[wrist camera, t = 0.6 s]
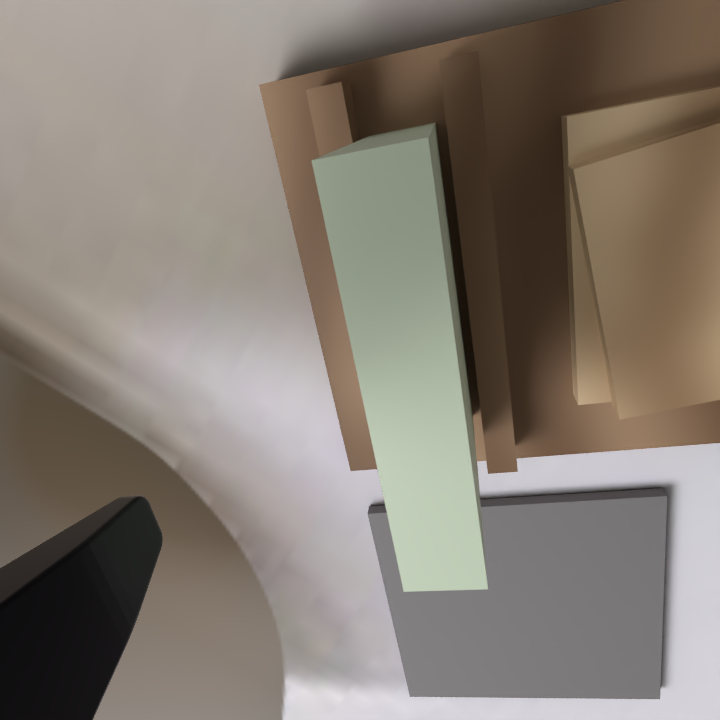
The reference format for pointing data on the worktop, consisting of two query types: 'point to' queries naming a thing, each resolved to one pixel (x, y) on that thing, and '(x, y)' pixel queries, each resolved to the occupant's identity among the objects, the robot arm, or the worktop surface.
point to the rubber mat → (542, 602)
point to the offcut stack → (644, 252)
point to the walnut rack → (497, 205)
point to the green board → (408, 348)
